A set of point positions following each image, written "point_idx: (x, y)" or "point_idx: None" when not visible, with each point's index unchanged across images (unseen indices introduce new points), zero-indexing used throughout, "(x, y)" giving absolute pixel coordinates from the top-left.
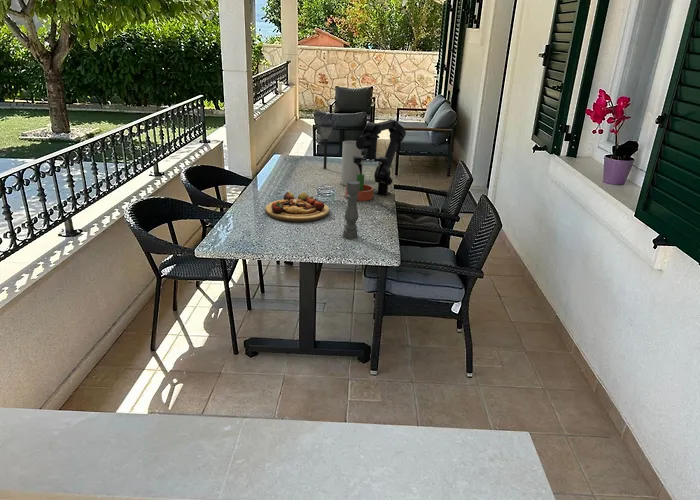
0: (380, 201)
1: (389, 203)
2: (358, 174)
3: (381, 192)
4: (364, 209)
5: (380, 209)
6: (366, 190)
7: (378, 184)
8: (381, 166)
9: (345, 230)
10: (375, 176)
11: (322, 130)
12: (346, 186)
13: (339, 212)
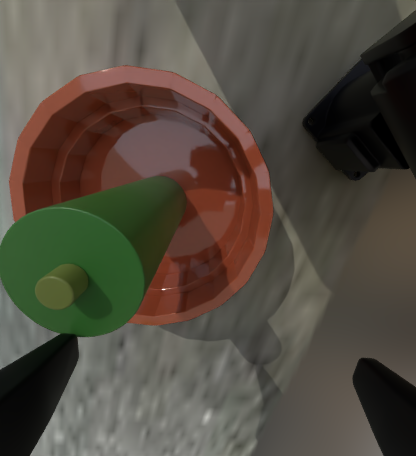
0: (273, 290)
1: (311, 324)
2: (30, 277)
3: (341, 169)
4: (153, 392)
5: (229, 396)
6: (225, 148)
7: (364, 128)
8: None
9: None
10: (393, 107)
11: None
12: (17, 180)
13: None
